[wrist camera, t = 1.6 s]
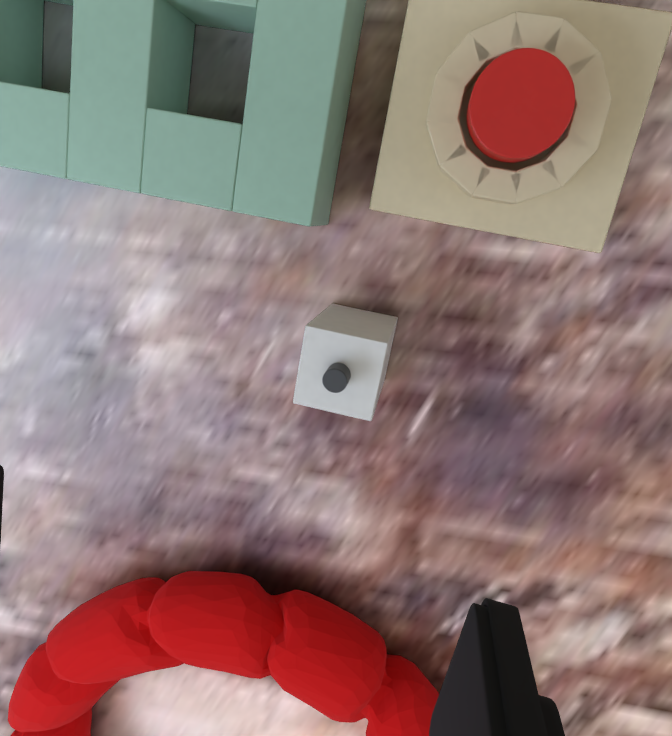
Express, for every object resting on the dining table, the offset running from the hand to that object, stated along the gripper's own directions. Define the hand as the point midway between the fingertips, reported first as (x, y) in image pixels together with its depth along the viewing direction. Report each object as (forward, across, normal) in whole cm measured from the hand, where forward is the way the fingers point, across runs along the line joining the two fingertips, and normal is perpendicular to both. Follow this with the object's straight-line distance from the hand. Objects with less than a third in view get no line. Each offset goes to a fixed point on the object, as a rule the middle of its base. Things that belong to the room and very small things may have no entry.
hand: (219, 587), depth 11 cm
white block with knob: (+19, 0, -1) cm, 19 cm away
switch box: (+19, -4, -12) cm, 23 cm away
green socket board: (+19, +12, -11) cm, 25 cm away
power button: (+15, -4, -12) cm, 20 cm away
